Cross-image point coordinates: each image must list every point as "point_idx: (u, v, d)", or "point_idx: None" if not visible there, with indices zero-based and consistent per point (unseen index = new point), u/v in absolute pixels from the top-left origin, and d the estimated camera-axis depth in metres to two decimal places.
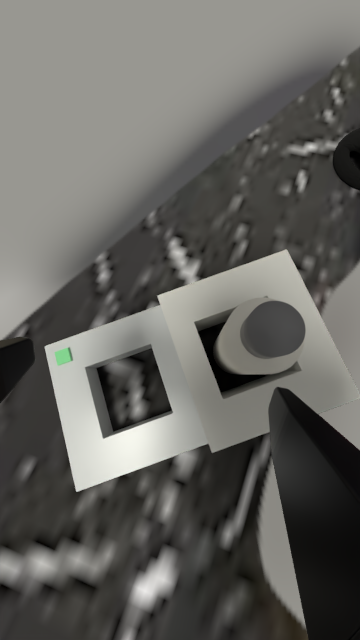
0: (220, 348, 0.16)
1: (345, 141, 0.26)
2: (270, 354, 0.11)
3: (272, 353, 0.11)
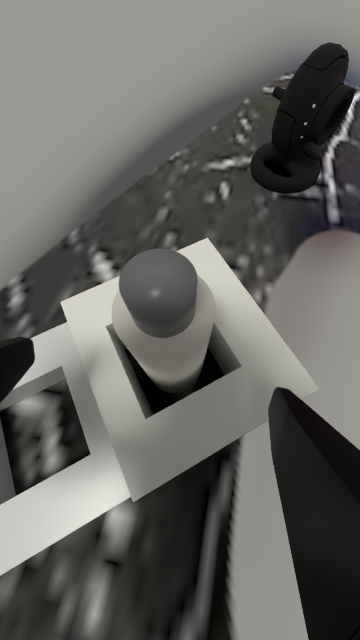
0: None
1: (257, 153, 0.27)
2: (151, 315, 0.08)
3: (154, 313, 0.08)
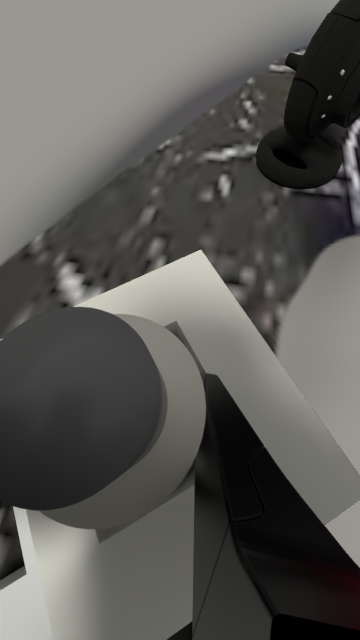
0: None
1: (265, 140, 0.22)
2: (29, 504, 0.03)
3: (34, 501, 0.03)
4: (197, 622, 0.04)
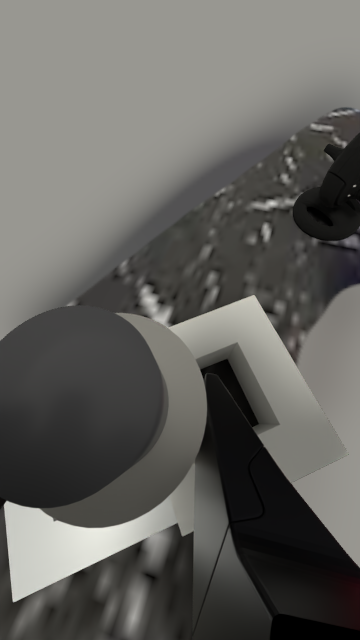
0: None
1: (301, 198, 0.28)
2: (31, 502, 0.03)
3: (37, 499, 0.03)
4: (197, 622, 0.04)
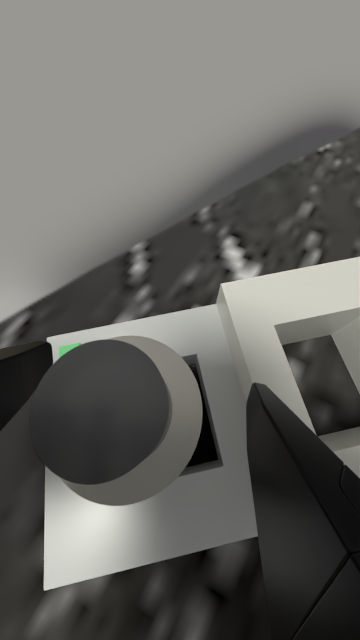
0: None
1: None
2: (80, 481, 0.04)
3: (84, 479, 0.04)
4: None
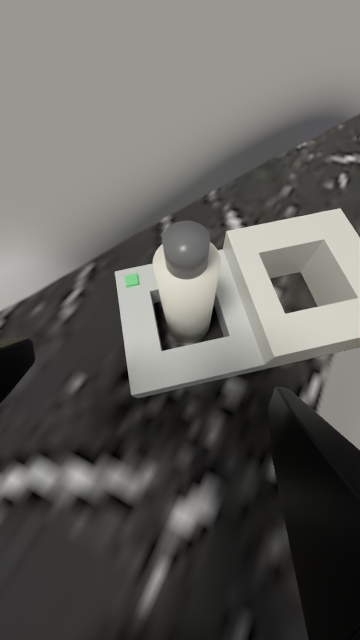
0: (160, 297, 0.18)
1: None
2: (183, 258, 0.13)
3: (185, 257, 0.13)
4: None
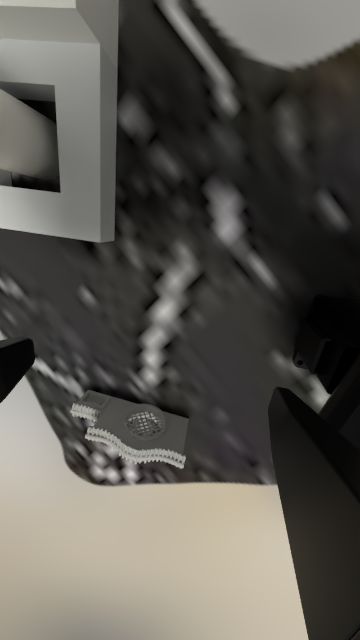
0: None
1: None
2: None
3: None
4: None
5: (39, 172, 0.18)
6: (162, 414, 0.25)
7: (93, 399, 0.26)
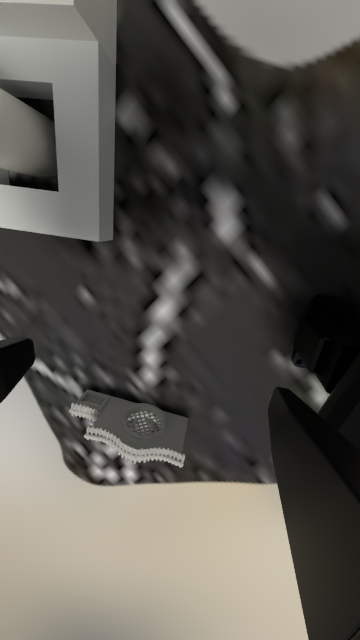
0: None
1: None
2: None
3: None
4: None
5: (37, 171, 0.17)
6: (161, 413, 0.25)
7: (92, 399, 0.26)
